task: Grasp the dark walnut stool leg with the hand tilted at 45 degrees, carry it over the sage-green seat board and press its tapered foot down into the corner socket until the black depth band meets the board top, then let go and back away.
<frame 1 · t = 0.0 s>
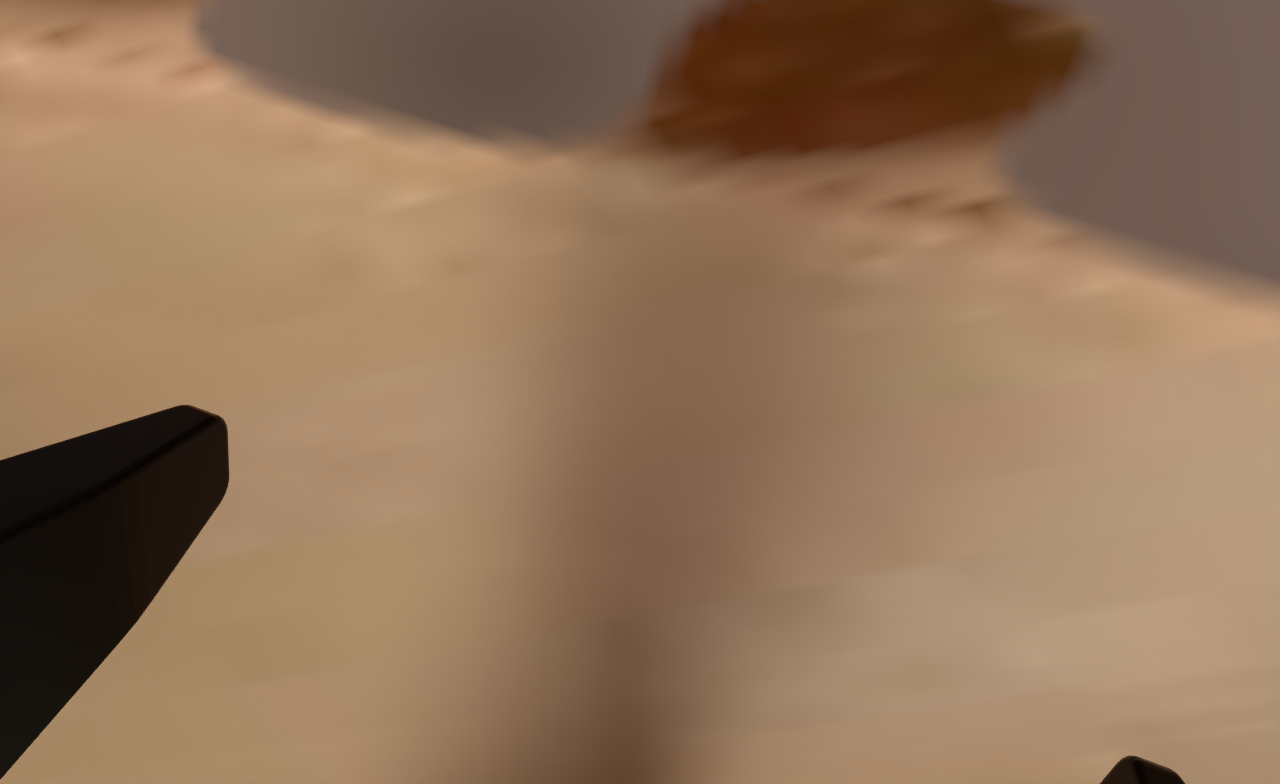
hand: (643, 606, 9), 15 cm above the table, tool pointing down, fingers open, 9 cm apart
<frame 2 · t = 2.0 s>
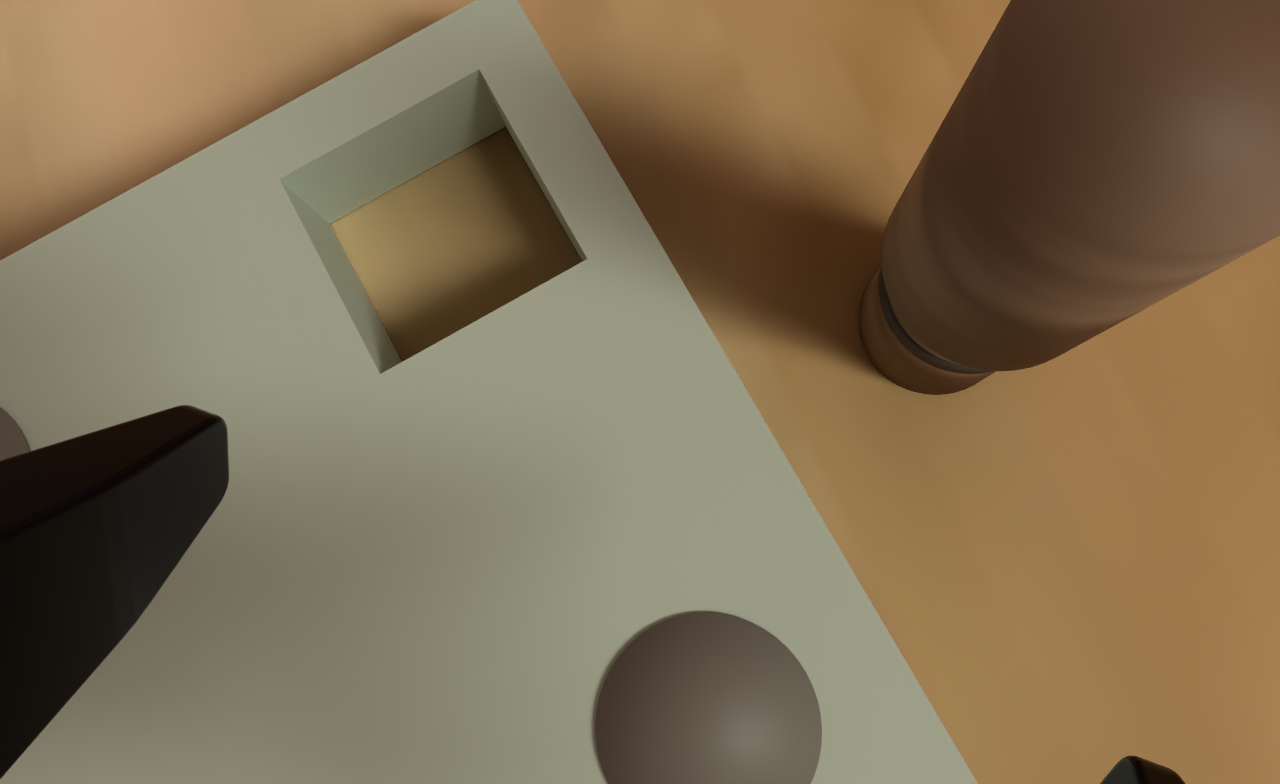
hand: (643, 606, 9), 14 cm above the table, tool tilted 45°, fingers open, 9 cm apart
stool leg: (933, 321, 23), on the table
seat board: (355, 597, 23), on the table
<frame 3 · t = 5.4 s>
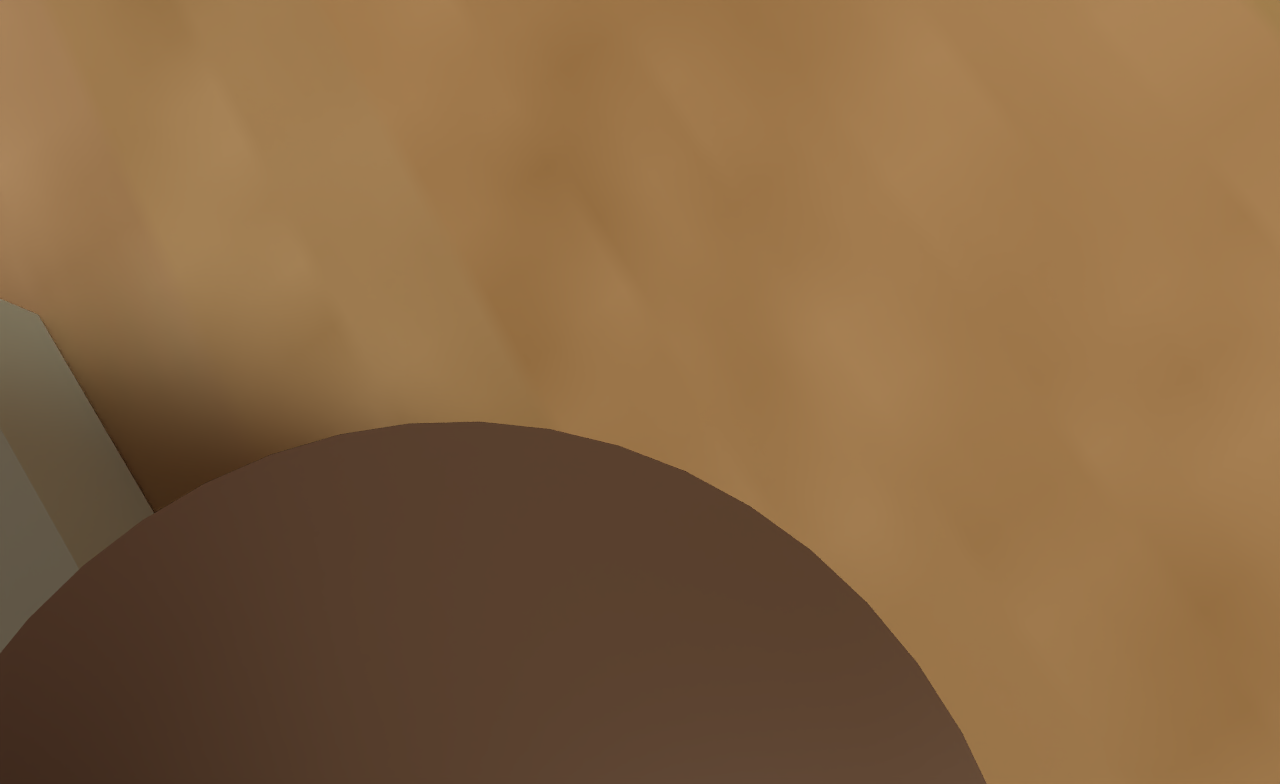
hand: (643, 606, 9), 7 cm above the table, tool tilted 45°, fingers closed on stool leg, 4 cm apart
stool leg: (631, 683, 16), on the table, touching gripper
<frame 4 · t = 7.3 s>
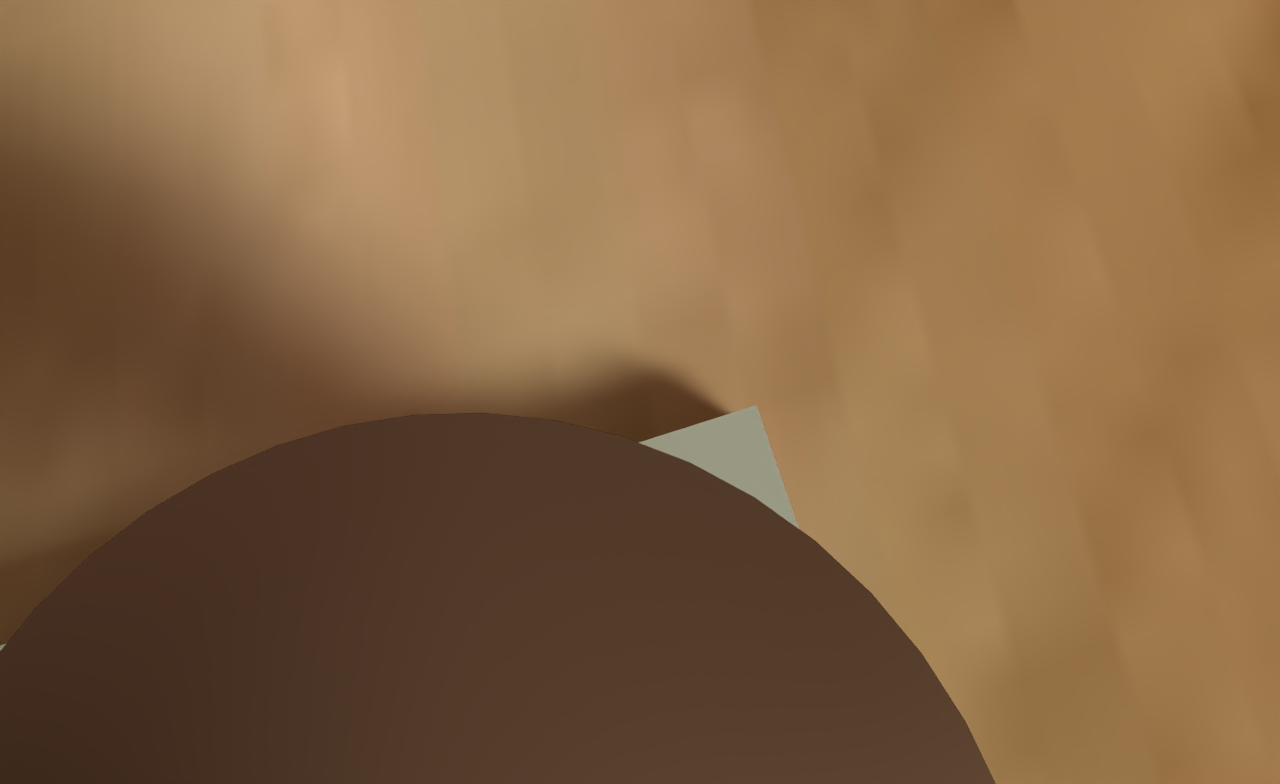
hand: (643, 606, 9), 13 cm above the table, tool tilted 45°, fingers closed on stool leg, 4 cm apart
stool leg: (632, 680, 16), point 7 cm above the table, touching gripper
when the fingers open (7 cm above the table, at t = 9.3 s): stool leg stays where it is, resting in seat board.
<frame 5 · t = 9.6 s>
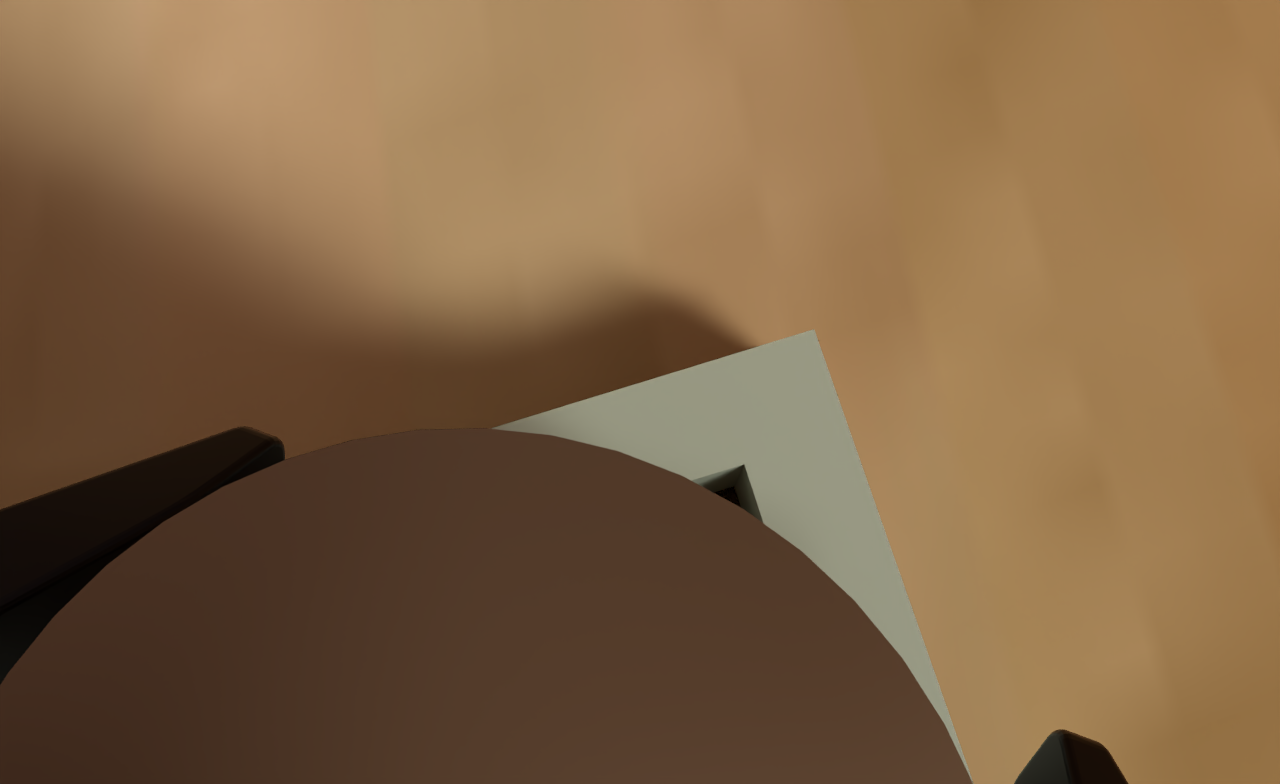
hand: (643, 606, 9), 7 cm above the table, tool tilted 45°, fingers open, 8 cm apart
stool leg: (630, 683, 16), resting in seat board
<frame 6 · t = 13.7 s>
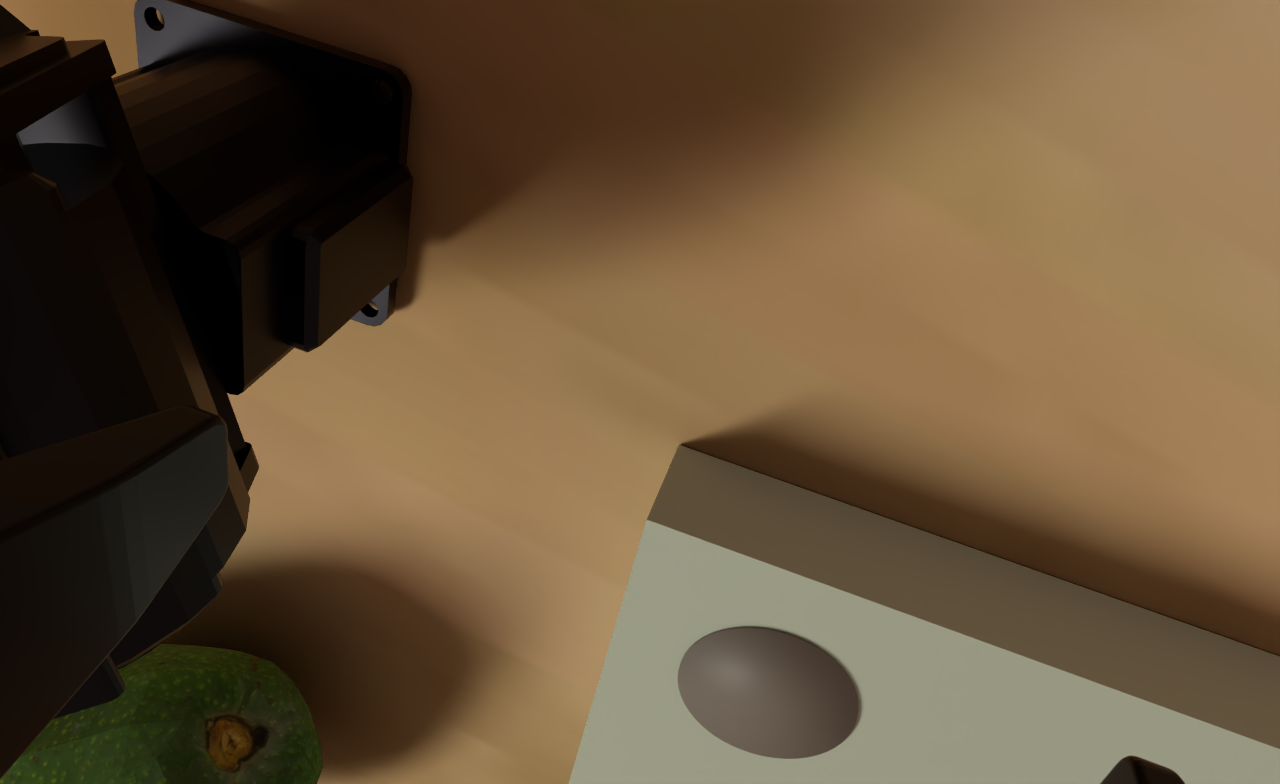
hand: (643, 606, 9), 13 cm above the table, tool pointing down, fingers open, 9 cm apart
fruit: (235, 677, 36), on the table
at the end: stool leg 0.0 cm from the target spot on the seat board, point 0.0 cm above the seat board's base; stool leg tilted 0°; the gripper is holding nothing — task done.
